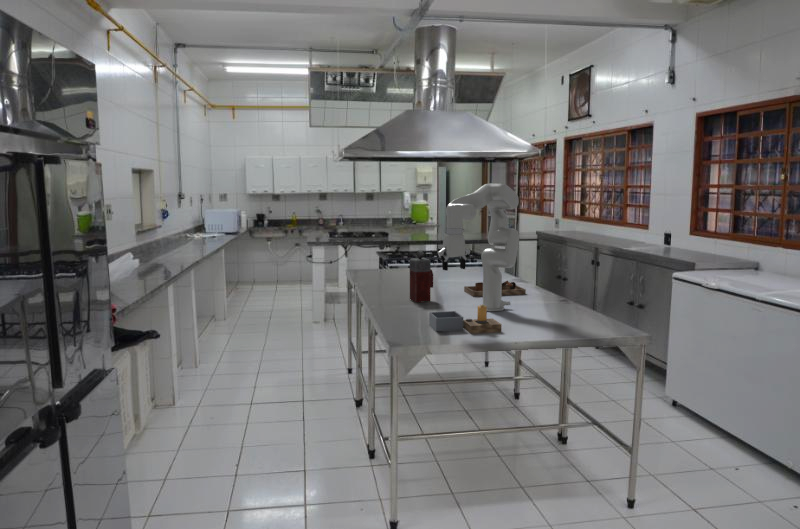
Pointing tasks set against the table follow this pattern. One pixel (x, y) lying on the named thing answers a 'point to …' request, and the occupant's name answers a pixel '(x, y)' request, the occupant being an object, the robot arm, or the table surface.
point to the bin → (446, 321)
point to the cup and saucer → (478, 287)
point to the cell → (482, 314)
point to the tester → (481, 326)
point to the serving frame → (505, 291)
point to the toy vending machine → (420, 278)
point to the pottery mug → (509, 285)
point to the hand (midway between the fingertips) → (454, 269)
